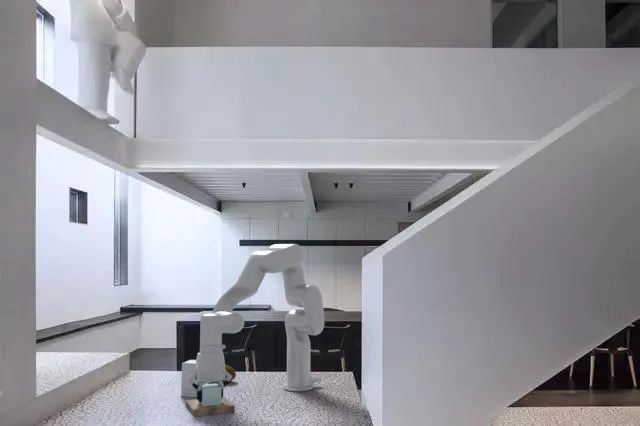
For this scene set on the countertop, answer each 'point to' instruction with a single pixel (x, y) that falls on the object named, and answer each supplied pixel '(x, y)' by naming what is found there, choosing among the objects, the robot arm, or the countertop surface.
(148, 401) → the countertop surface
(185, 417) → the countertop surface
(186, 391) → the supplement box
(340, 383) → the countertop surface
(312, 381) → the robot arm
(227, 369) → the potato
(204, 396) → the pale blue cube
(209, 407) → the wooden peg base
